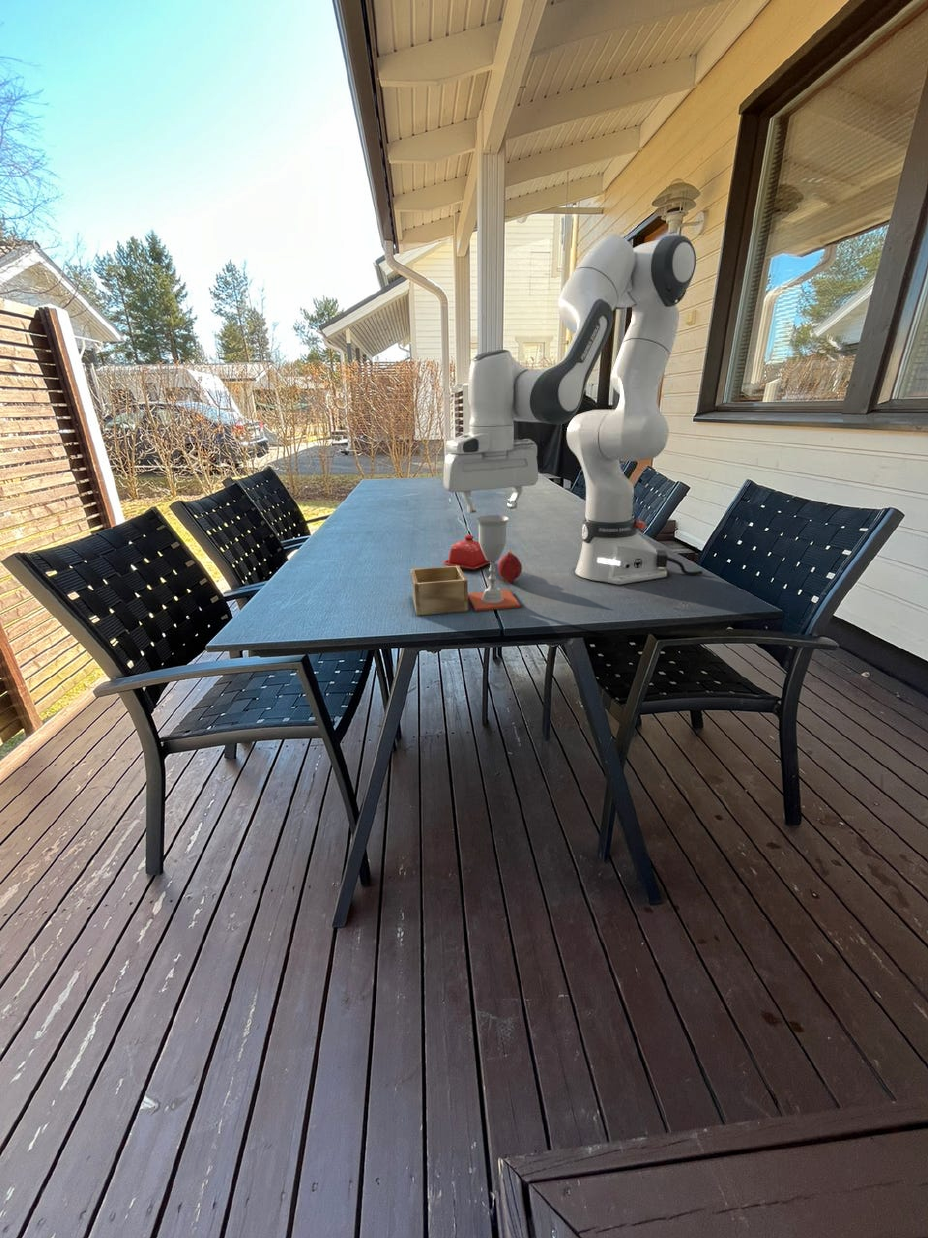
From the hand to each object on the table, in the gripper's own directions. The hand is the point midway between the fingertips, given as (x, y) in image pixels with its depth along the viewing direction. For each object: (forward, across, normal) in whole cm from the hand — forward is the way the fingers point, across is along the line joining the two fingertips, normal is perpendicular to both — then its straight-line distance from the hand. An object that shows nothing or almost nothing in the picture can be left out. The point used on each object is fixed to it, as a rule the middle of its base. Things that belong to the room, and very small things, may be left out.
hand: (492, 510), depth 110 cm
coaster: (+20, 0, 0) cm, 20 cm away
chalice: (+20, 0, 0) cm, 20 cm away
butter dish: (+20, -6, -28) cm, 35 cm away
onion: (+20, -9, -10) cm, 25 cm away
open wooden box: (+20, +12, -3) cm, 24 cm away
